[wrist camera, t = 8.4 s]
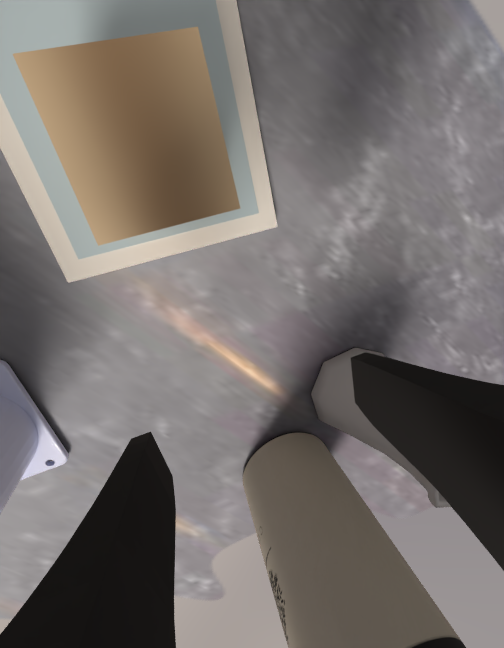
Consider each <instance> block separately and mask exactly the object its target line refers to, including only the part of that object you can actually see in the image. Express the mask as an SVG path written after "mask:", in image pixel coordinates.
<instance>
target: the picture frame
mask: <svg viewBox="0 0 504 648" xmlns="http://www.w3.org/2000/svg"><path fill="white" fill-rule="evenodd" d="M192 27H198V29H199V34H200V38H201V42H202V46H203V51H204V55H205V59H206V63H207V68H208V72H209V76H210V80H211V85H212V89H213V93H214V97H215V102H216V106H217V110H218V114H219V119H220V123H221V127H222V131H223V136H224V140H225V144H226V148H227V153H228V157H229V161H230V165H231V170H232V174H233V178H234V182H235V187H236V191H237V195H238V199H239V204H240V209H237V210H233V211H229V212H225V213H221V214H217V215H214V216H210V217H206V218H202V219H198V220H195V221H191V222H187V223H183V224H179V225H175V226H172V227H168V228H164V229H160V230H156V231H153V232H149V233H145V234H141V235H137V236H134V237H130V238H126V239H122V240H118V241H114V242H111V243H107V244H103V245H99V246H98V244H97V242H96V240H95V238H94V235H93V233H92V231H91V229H90V226H89V224H88V222H87V220H86V217H85V215H84V213H83V211H82V209H81V206H80V204H79V202H78V200H77V197H76V195H75V193H74V191H73V188H72V186H71V184H70V182H69V179H68V177H67V175H66V173H65V170H64V168H63V166H62V164H61V162H60V159H59V157H58V155H57V153H56V150H55V148H54V146H53V144H52V141H51V139H50V137H49V135H48V132H47V130H46V128H45V126H44V124H43V121H42V119H41V117H40V115H39V112H38V110H37V108H36V106H35V103H34V101H33V99H32V97H31V94H30V92H29V90H28V88H27V85H26V83H25V81H24V79H23V77H22V74H21V72H20V70H19V68H18V65H17V63H16V61H15V59H14V56H13V54H14V53H21V52H28V51H35V50H42V49H48V48H55V47H62V46H69V45H76V44H82V43H89V42H96V41H103V40H110V39H117V38H123V37H130V36H137V35H144V34H151V33H158V32H164V31H171V30H178V29H185V28H192ZM0 148H1V150H2V152H3V154H4V156H5V158H6V160H7V162H8V164H9V166H10V168H11V170H12V172H13V174H14V176H15V178H16V180H17V182H18V184H19V186H20V188H21V190H22V192H23V194H24V196H25V198H26V200H27V202H28V204H29V206H30V208H31V210H32V212H33V214H34V216H35V218H36V220H37V222H38V224H39V226H40V228H41V230H42V232H43V234H44V236H45V238H46V240H47V242H48V244H49V246H50V248H51V250H52V252H53V254H54V256H55V258H56V260H57V262H58V264H59V266H60V268H61V270H62V271H63V273H64V275H65V277H66V279H67V281H68V283H70V282H74V281H77V280H81V279H85V278H88V277H92V276H96V275H100V274H103V273H107V272H111V271H115V270H118V269H122V268H126V267H129V266H133V265H137V264H141V263H144V262H148V261H152V260H155V259H159V258H163V257H167V256H170V255H174V254H178V253H182V252H185V251H189V250H193V249H196V248H200V247H204V246H208V245H211V244H215V243H219V242H222V241H226V240H230V239H234V238H237V237H241V236H245V235H249V234H252V233H256V232H260V231H263V230H267V229H271V228H275V227H278V226H277V221H276V215H275V210H274V204H273V199H272V193H271V188H270V182H269V177H268V172H267V166H266V161H265V155H264V150H263V144H262V139H261V133H260V128H259V122H258V117H257V111H256V106H255V100H254V95H253V89H252V84H251V78H250V73H249V67H248V62H247V56H246V51H245V45H244V40H243V34H242V29H241V23H240V18H239V12H238V7H237V1H236V0H0Z"/></svg>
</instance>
